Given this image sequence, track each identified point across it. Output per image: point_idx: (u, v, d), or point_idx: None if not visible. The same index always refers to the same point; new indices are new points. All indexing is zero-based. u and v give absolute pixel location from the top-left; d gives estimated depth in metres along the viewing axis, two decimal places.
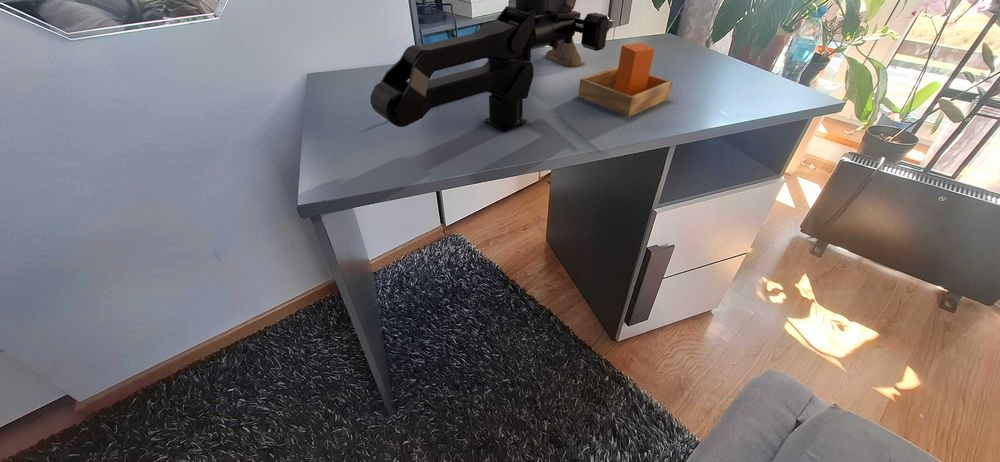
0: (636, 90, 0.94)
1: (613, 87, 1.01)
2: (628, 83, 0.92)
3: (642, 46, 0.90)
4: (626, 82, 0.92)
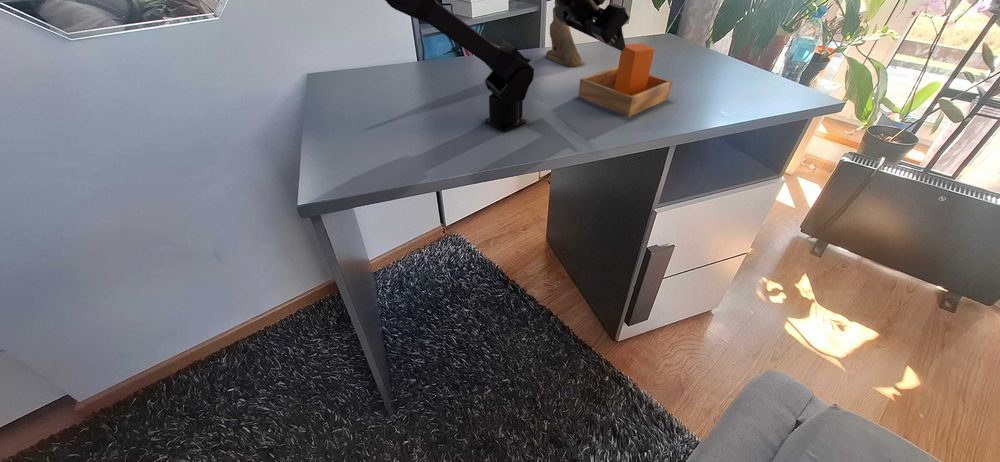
0: (636, 90, 0.94)
1: (613, 87, 1.01)
2: (628, 83, 0.92)
3: (642, 46, 0.90)
4: (626, 82, 0.92)
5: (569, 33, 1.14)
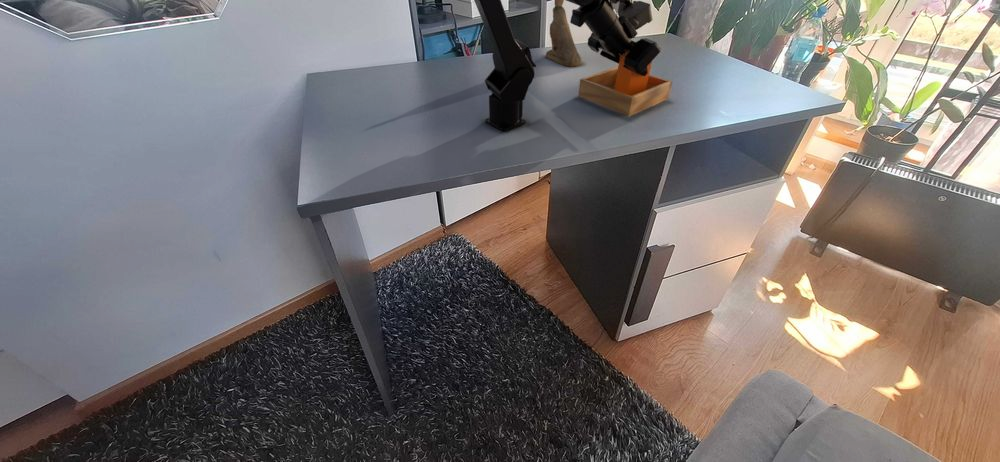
0: (636, 90, 0.94)
1: (613, 87, 1.01)
2: (628, 83, 0.92)
3: None
4: (626, 82, 0.92)
5: (569, 33, 1.14)
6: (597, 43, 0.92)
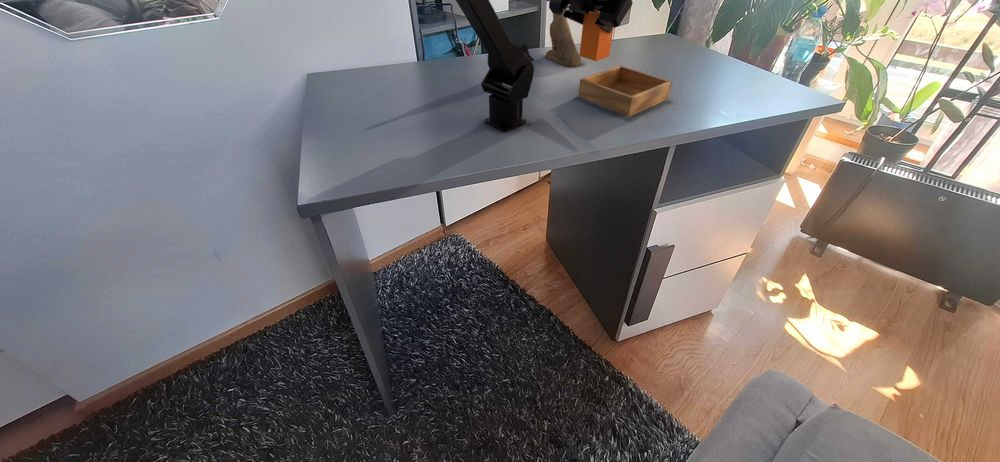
0: (603, 48, 0.95)
1: (613, 87, 1.01)
2: (597, 41, 0.93)
3: None
4: (594, 41, 0.93)
5: (569, 33, 1.14)
6: (561, 4, 0.91)
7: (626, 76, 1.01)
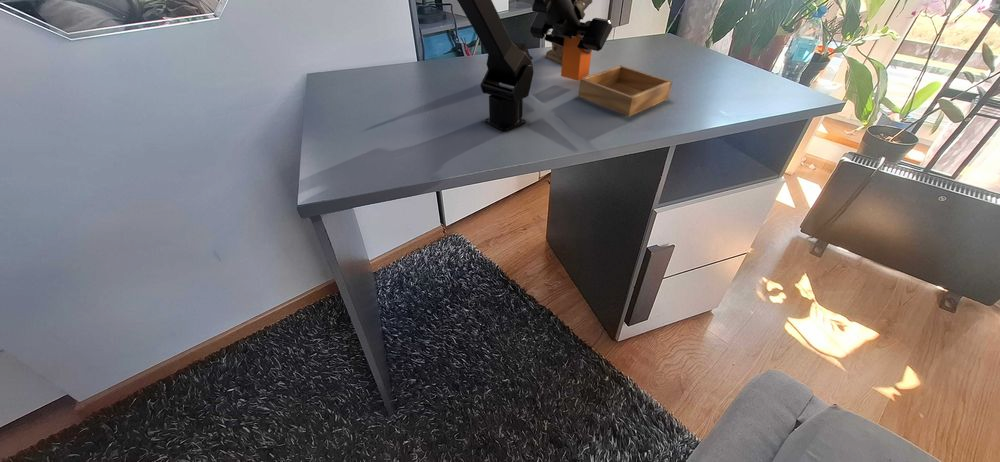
0: (584, 68, 1.00)
1: (613, 87, 1.01)
2: (578, 62, 0.98)
3: None
4: (576, 62, 0.98)
5: None
6: (543, 29, 0.95)
7: (626, 76, 1.01)
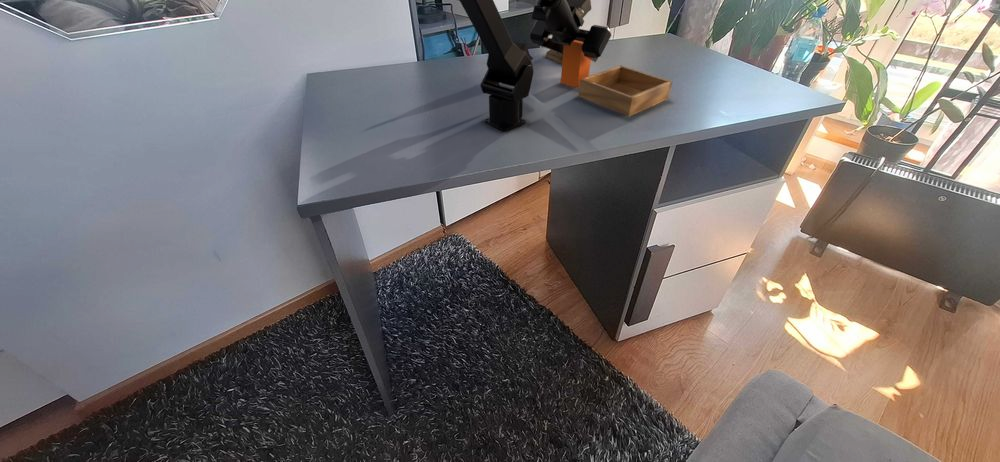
0: None
1: (613, 87, 1.01)
2: (577, 73, 0.99)
3: None
4: (575, 73, 1.00)
5: None
6: (542, 36, 0.96)
7: (626, 76, 1.01)
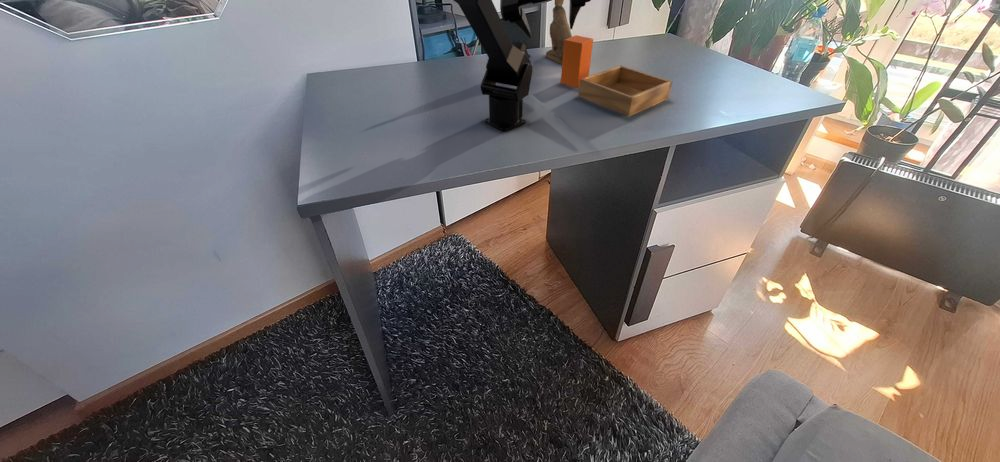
0: None
1: (613, 87, 1.01)
2: (577, 73, 0.99)
3: (581, 38, 0.98)
4: (575, 73, 1.00)
5: (569, 33, 1.14)
6: (518, 4, 0.85)
7: (626, 76, 1.01)
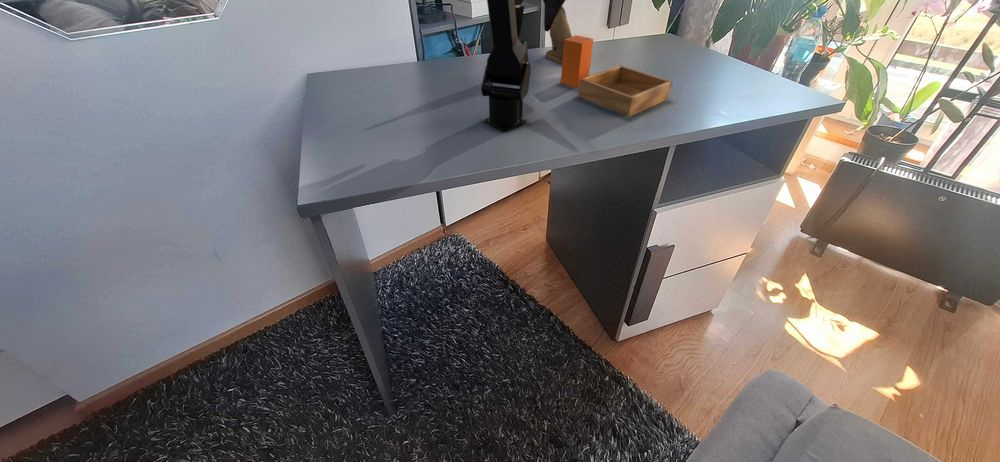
0: None
1: (613, 87, 1.01)
2: (577, 73, 0.99)
3: (581, 38, 0.98)
4: (575, 73, 1.00)
5: (569, 33, 1.14)
6: None
7: (626, 76, 1.01)
